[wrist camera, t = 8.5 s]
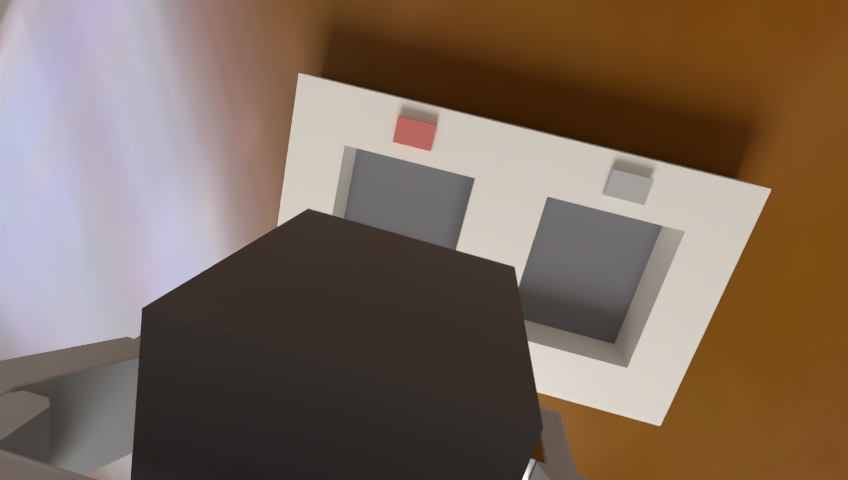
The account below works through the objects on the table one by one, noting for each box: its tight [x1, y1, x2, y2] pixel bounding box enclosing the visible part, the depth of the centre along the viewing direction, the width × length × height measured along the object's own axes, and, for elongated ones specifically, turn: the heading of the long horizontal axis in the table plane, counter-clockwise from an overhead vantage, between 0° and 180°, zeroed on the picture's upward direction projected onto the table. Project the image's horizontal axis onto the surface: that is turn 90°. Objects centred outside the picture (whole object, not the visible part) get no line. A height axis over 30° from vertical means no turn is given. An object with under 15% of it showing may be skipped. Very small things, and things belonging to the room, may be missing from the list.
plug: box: [131, 209, 543, 480], centre depth 9 cm, size 4×6×6 cm
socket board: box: [277, 73, 771, 426], centre depth 24 cm, size 22×13×4 cm, turn 77°
